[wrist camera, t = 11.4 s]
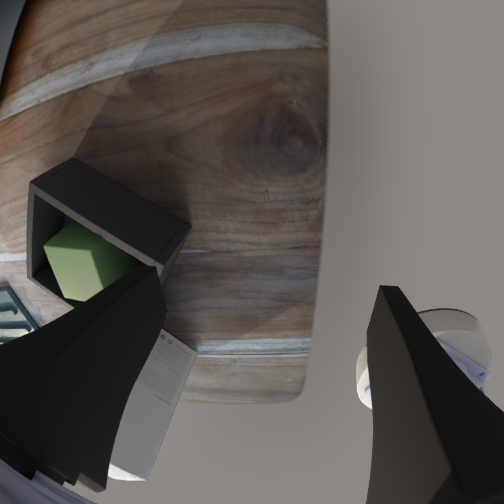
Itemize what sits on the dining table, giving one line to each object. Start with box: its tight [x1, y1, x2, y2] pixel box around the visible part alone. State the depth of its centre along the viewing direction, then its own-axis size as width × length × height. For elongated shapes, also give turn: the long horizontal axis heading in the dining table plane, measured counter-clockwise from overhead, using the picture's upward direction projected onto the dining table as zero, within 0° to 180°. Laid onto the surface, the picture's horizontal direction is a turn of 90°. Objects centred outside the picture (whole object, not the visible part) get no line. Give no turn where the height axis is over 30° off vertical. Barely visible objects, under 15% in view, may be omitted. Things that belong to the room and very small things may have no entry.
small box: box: [108, 329, 197, 481], centre depth 23 cm, size 8×6×13 cm
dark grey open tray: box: [27, 158, 192, 310], centre depth 20 cm, size 10×9×4 cm
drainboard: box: [0, 287, 39, 344], centre depth 35 cm, size 20×12×1 cm, turn 109°
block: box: [44, 220, 138, 302], centre depth 20 cm, size 4×4×4 cm
